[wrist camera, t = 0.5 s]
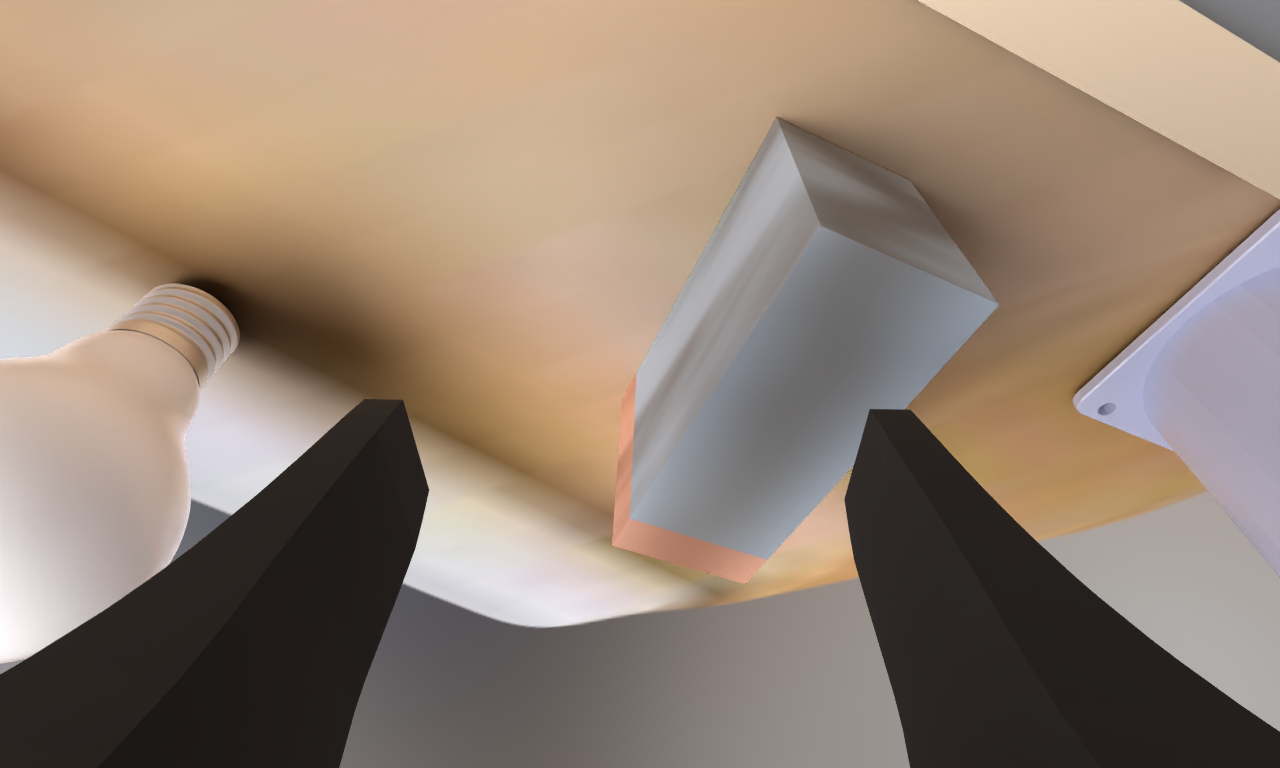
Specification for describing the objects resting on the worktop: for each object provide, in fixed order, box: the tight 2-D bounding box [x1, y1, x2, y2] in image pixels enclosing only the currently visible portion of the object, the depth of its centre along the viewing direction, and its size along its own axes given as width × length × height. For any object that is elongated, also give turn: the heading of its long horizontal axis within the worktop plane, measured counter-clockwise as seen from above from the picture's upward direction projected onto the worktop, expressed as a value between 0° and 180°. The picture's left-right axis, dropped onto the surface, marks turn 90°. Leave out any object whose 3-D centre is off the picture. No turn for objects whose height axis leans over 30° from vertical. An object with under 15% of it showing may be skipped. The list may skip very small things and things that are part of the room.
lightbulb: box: [0, 283, 240, 663], centre depth 16 cm, size 6×6×11 cm
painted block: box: [612, 117, 1000, 584], centre depth 18 cm, size 4×10×6 cm, turn 157°
